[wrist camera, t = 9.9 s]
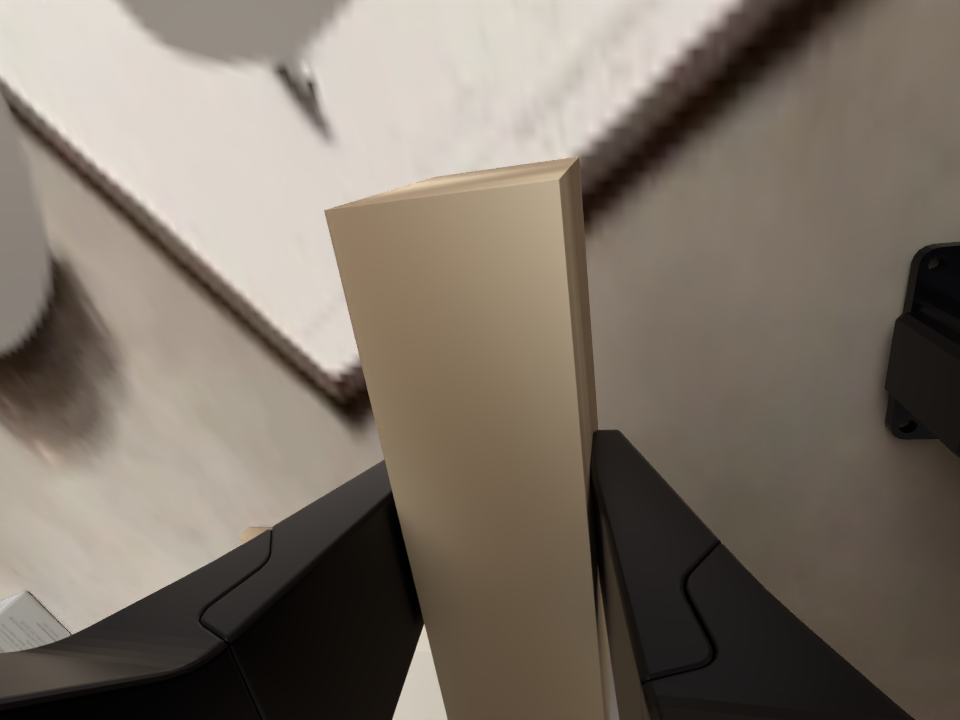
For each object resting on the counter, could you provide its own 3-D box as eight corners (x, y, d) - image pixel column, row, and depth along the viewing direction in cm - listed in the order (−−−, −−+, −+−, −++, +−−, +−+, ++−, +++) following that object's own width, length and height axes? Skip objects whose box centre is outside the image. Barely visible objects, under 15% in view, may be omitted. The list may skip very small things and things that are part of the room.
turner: (665, 144, 8) (711, 158, 5) (673, 747, 13) (698, 976, 10) (364, 186, 9) (216, 225, 6) (478, 723, 15) (436, 918, 11)
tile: (486, 656, 23) (509, 773, 26) (495, 614, 25) (515, 728, 28) (316, 644, 25) (356, 755, 28) (336, 605, 27) (371, 713, 30)
